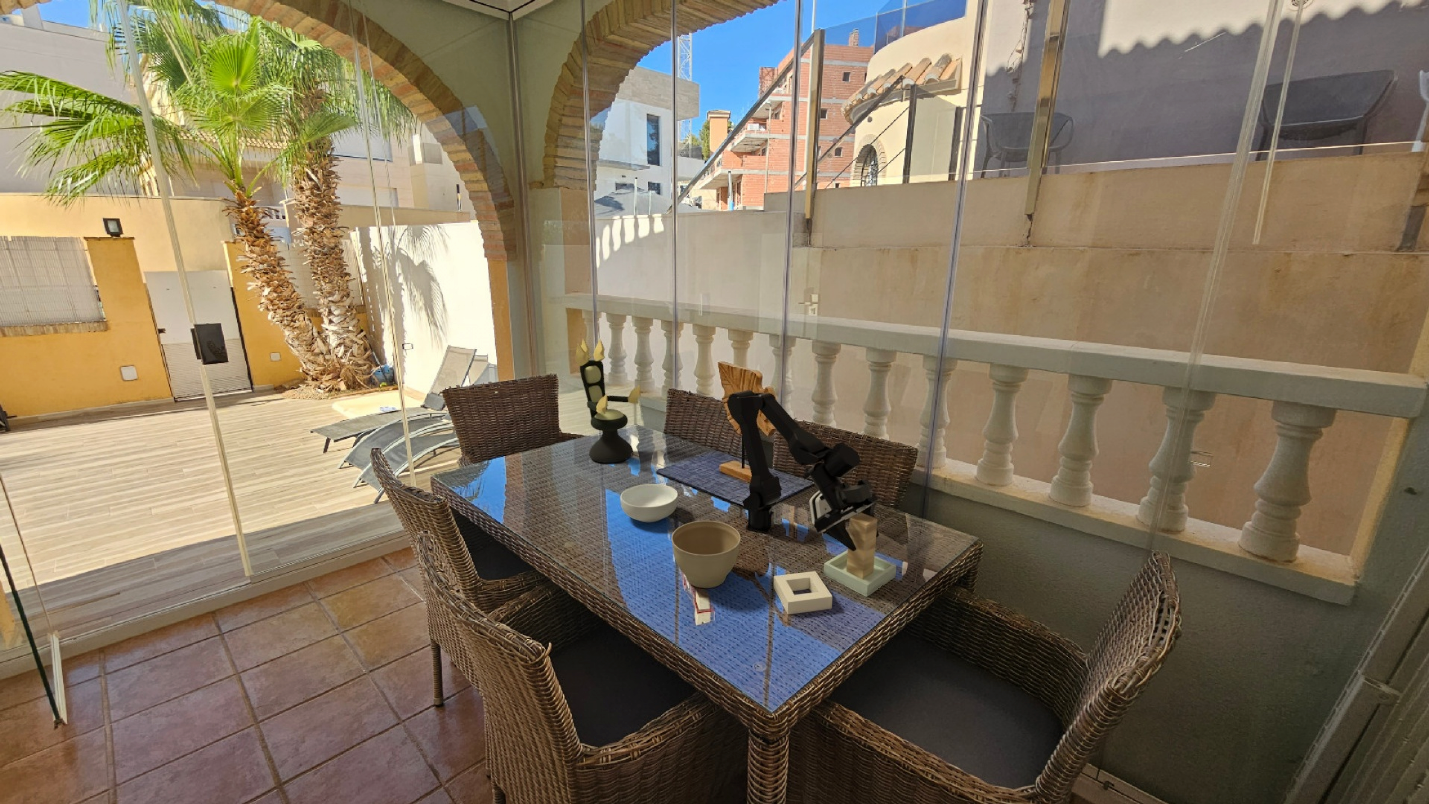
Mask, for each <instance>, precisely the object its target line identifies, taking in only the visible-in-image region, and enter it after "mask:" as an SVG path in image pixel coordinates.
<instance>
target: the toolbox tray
mask: <svg viewBox="0 0 1429 804" xmlns="http://www.w3.org/2000/svg"><path fill="white" fill-rule="evenodd" d="M847 553H848V549H847V550H845V551H843V552H842V553H840V554H838V555H836V556H834V557H833V558H831V559H829V560H828V561H826V562H823V576H825V577H828V578H829V579H831V580H833V581H835V582H837V583H838V584H840V585H842V586H845V587H847V588H848V589H851V590H852V591H855V592H856V593H858V594H859V595H862V596H864V597H866V598H868V597H869V596H870V595H872V594H873V593H874V592H876V591H877V590H879V589H880V588H881V586H882V585H883V586H885V585H886V584H887V583H889V582H890V581H891V580H893V579H894V578H896V574H897V565H896V564H894V563H892V562H889V561H888V560H885V559H883V558H881V557H879V556H877V555H875V557H874V570H873V573H872V574H870V575H869V576H867V577H866V578H864V579H863V580H862V579H860V578H858V577H856V576H854V575H852V574H850V573H848V572H846V569H847ZM883 586H882V587H883ZM878 588H879V589H878Z"/></svg>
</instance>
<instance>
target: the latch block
mask: <svg viewBox="0 0 1429 804" xmlns="http://www.w3.org/2000/svg"><path fill="white" fill-rule="evenodd" d="M773 590H774V591H775V592H776V594H777V597H778V598H779V600H780V602H781V605H782V606H783V609H784V610H785V612H786V614H787V615H794V614H801V613H809V612H815V611H824V610H831V609H832V608H833V595H832V594H831V592H830V591H829V589H828V588H827V586H826V585H825V584H824V582H823V581H822V579H821V578H820V576H819V574H818V573H817V572H816V570H814V571H805V572H797V573H789V574H782V575H781V574H779V575H774V576H773ZM803 590H809V591H810V592H808V593H800V594H794V592H795V591H803Z"/></svg>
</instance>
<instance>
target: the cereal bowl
mask: <svg viewBox="0 0 1429 804" xmlns="http://www.w3.org/2000/svg"><path fill="white" fill-rule="evenodd" d="M678 502H679V494H678V491H677V489H675V488H674V487H672V486H669V485H665V484H660V483H647V484H640V485H635V486H632V487H628V488H627V489H625V490H624V491H622V493H621V494H620V506H621V509H622V511H623V512H624V514H626V516H628V517H630V518H631V519H634V520H636V521H639V522H643V523H654V522H659V521H660V520H662V519H665V518H667V517H669V516H670V515H672V514H673V513H674V512H675V510H676V509H677V506H678Z"/></svg>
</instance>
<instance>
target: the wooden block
mask: <svg viewBox="0 0 1429 804" xmlns="http://www.w3.org/2000/svg"><path fill="white" fill-rule="evenodd" d="M874 517H875V516H874ZM874 517H871V516H869V515H866V514H863V513H859V514H856V515H854V516H852V517H850V518H849V524H848V533H849V535H850V537H851V539H852V540H853V542H854V544H855V546H856V549H857V550H855V551H852V550H850V549H849V548H847V550H848V553H847V569H846V572H848V573H850V574H852V575H854V576H856V577H858V578H860V579H862V580H863V579H864V578H866V577H867V576H869V575H870V574H872V573H873V570H874V557H875V556H876V544H877V543H876V542H877V538H876V531H877V529H878V518H876V517H875V518H874Z"/></svg>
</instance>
